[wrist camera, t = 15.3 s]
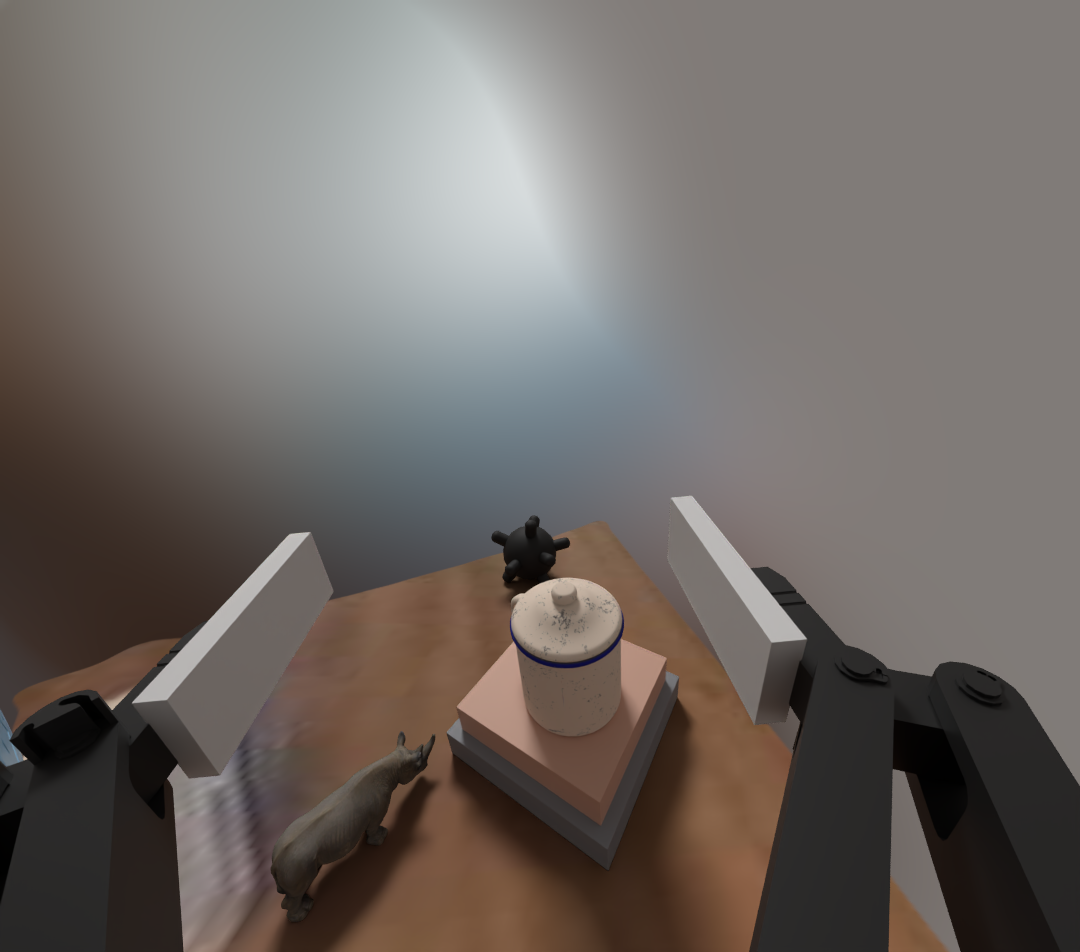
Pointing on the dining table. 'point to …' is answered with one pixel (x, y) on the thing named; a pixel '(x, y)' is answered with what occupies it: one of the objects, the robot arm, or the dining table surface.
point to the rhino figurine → (341, 824)
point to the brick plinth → (559, 809)
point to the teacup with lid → (569, 654)
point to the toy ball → (529, 551)
